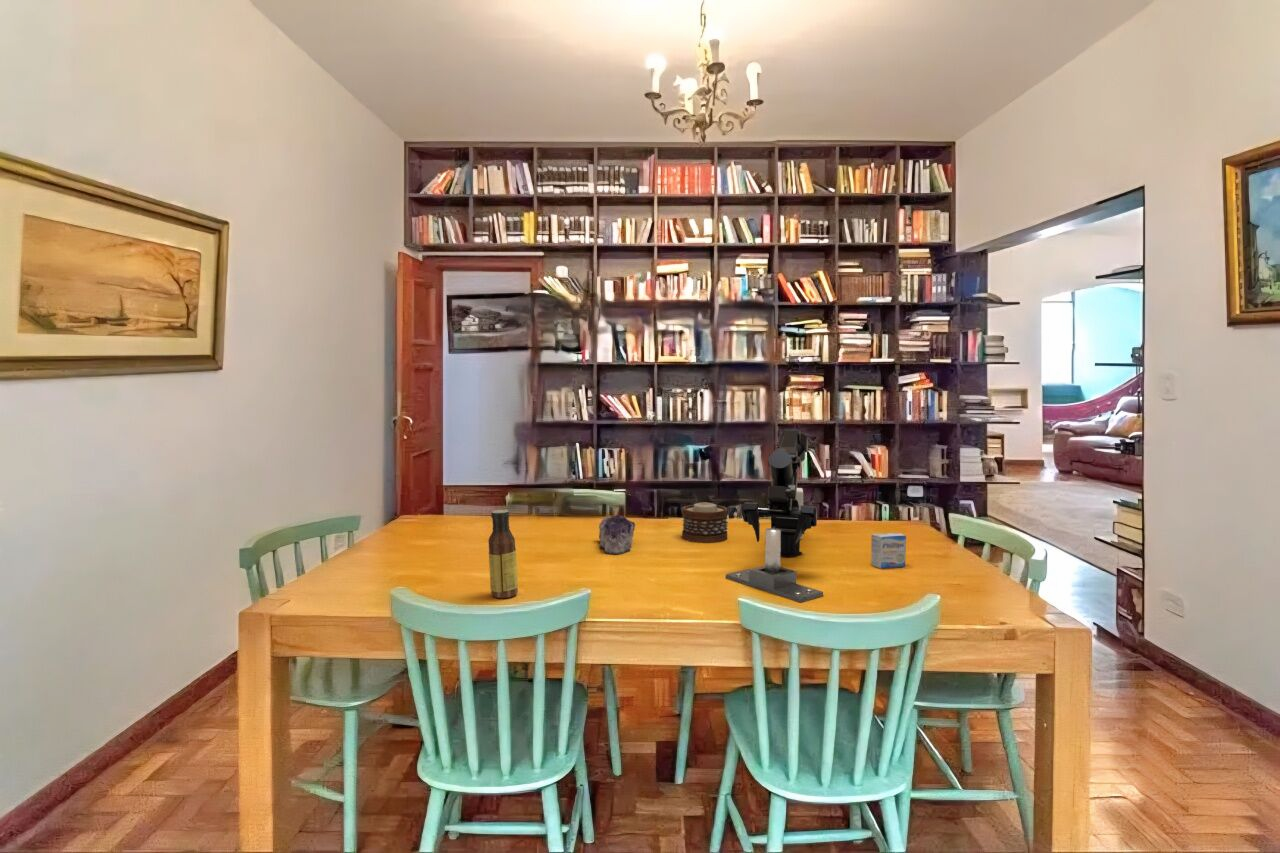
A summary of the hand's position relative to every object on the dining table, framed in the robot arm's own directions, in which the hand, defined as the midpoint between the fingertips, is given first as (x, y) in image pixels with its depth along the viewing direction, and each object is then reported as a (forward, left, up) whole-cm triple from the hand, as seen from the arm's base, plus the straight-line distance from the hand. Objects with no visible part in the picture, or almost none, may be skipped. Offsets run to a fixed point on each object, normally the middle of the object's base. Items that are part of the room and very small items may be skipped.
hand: (776, 542), depth 176 cm
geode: (-51, -12, -10) cm, 54 cm away
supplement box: (-30, +40, -10) cm, 51 cm away
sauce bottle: (-29, -60, -10) cm, 68 cm away
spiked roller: (-44, +17, -10) cm, 48 cm away
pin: (+4, -5, -9) cm, 11 cm away
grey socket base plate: (+4, -5, -9) cm, 11 cm away
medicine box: (+10, +34, -10) cm, 36 cm away
